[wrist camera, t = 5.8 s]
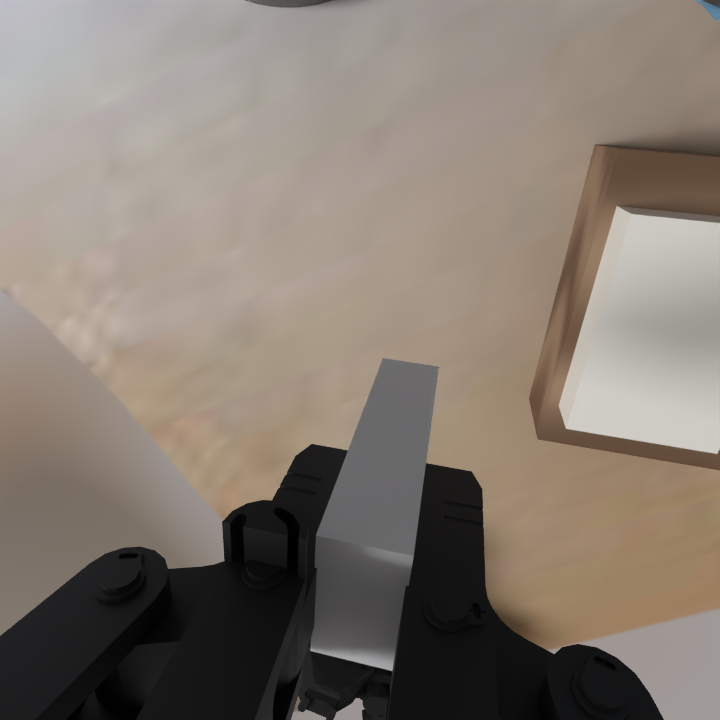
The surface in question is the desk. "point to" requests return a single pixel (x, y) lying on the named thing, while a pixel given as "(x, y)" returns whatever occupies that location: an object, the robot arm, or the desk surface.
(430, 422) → the robot arm
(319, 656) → the film camera
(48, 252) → the desk surface
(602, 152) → the brown wooden flat block
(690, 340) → the white rectangular block
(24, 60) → the desk surface
